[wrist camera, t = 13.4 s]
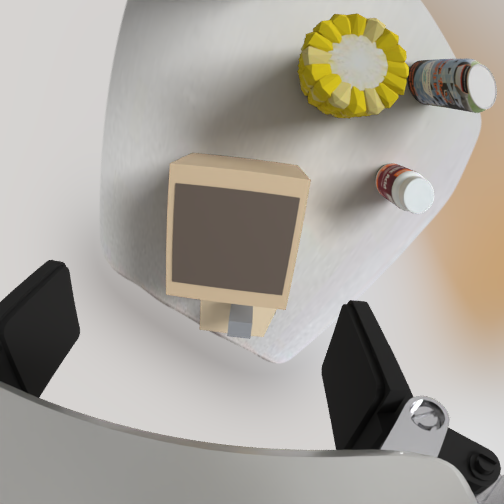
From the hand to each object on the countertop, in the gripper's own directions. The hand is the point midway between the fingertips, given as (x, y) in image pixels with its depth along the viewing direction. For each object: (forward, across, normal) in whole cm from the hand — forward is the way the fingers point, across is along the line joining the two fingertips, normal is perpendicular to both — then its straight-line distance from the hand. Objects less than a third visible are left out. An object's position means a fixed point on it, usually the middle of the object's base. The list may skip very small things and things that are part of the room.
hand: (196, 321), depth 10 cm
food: (+31, -9, -13) cm, 34 cm away
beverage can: (+31, -22, -16) cm, 41 cm away
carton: (+30, 0, +5) cm, 31 cm away
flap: (+31, -2, +19) cm, 36 cm away
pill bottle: (+31, -19, -2) cm, 36 cm away
